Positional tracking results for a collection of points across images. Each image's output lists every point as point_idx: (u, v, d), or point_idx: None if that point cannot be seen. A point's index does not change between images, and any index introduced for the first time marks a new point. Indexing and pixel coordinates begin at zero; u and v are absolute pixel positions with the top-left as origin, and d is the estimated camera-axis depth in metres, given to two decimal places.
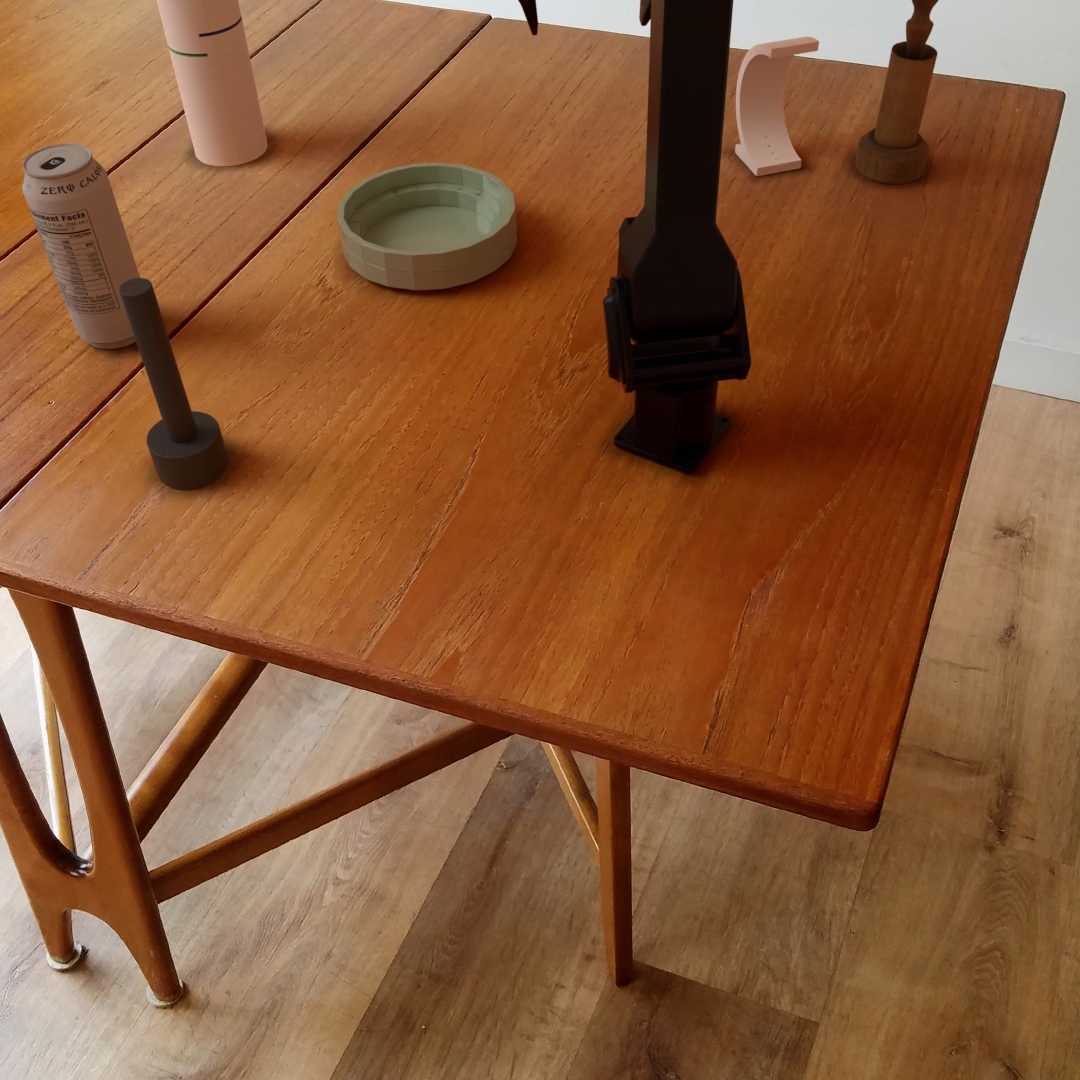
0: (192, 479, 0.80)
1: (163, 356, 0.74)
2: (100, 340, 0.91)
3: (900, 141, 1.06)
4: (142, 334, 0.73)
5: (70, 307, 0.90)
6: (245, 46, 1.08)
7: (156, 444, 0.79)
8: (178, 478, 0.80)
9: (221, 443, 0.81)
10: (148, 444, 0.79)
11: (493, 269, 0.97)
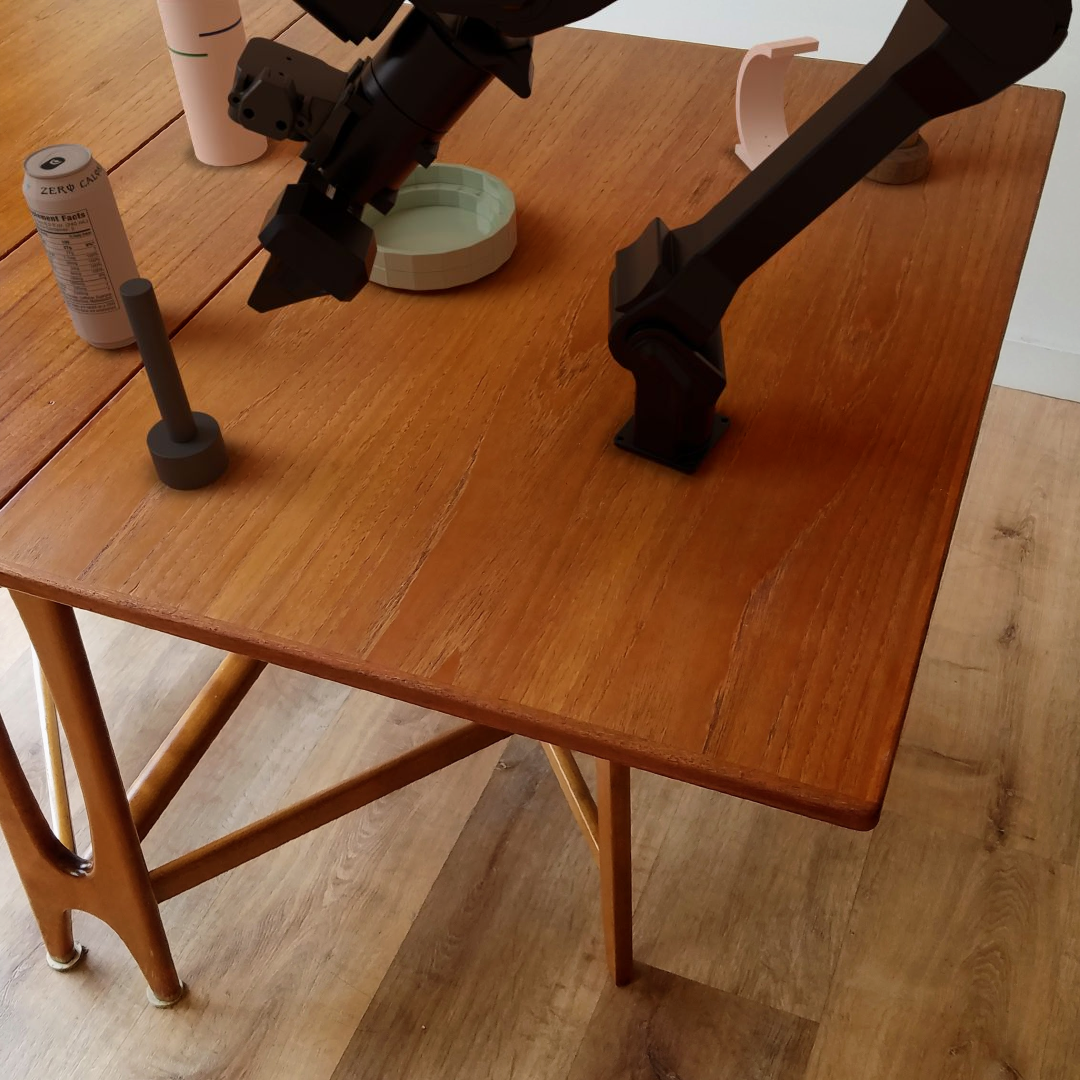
0: (192, 479, 0.80)
1: (163, 356, 0.74)
2: (100, 340, 0.91)
3: None
4: (142, 334, 0.73)
5: (70, 307, 0.90)
6: (245, 46, 1.08)
7: (156, 444, 0.79)
8: (178, 478, 0.80)
9: (221, 443, 0.81)
10: (148, 444, 0.79)
11: (493, 269, 0.97)
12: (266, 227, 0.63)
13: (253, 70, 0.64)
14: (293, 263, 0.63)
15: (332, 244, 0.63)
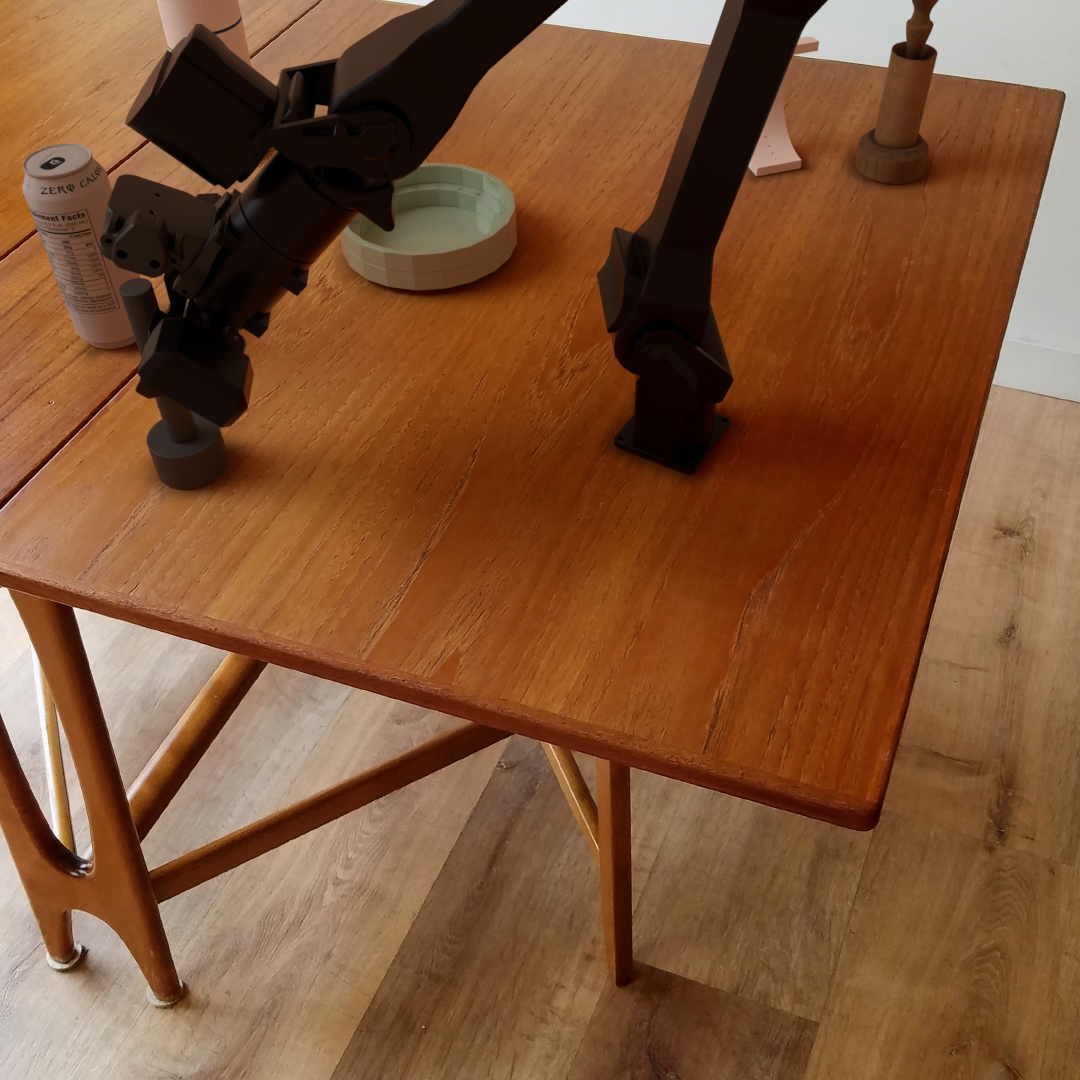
0: (192, 479, 0.80)
1: None
2: (100, 340, 0.91)
3: (900, 141, 1.06)
4: (142, 334, 0.73)
5: (70, 307, 0.90)
6: (245, 46, 1.08)
7: (156, 444, 0.79)
8: (178, 478, 0.80)
9: (221, 443, 0.81)
10: (148, 444, 0.79)
11: (493, 269, 0.97)
12: (145, 364, 0.65)
13: (124, 211, 0.66)
14: (173, 395, 0.66)
15: (211, 377, 0.66)
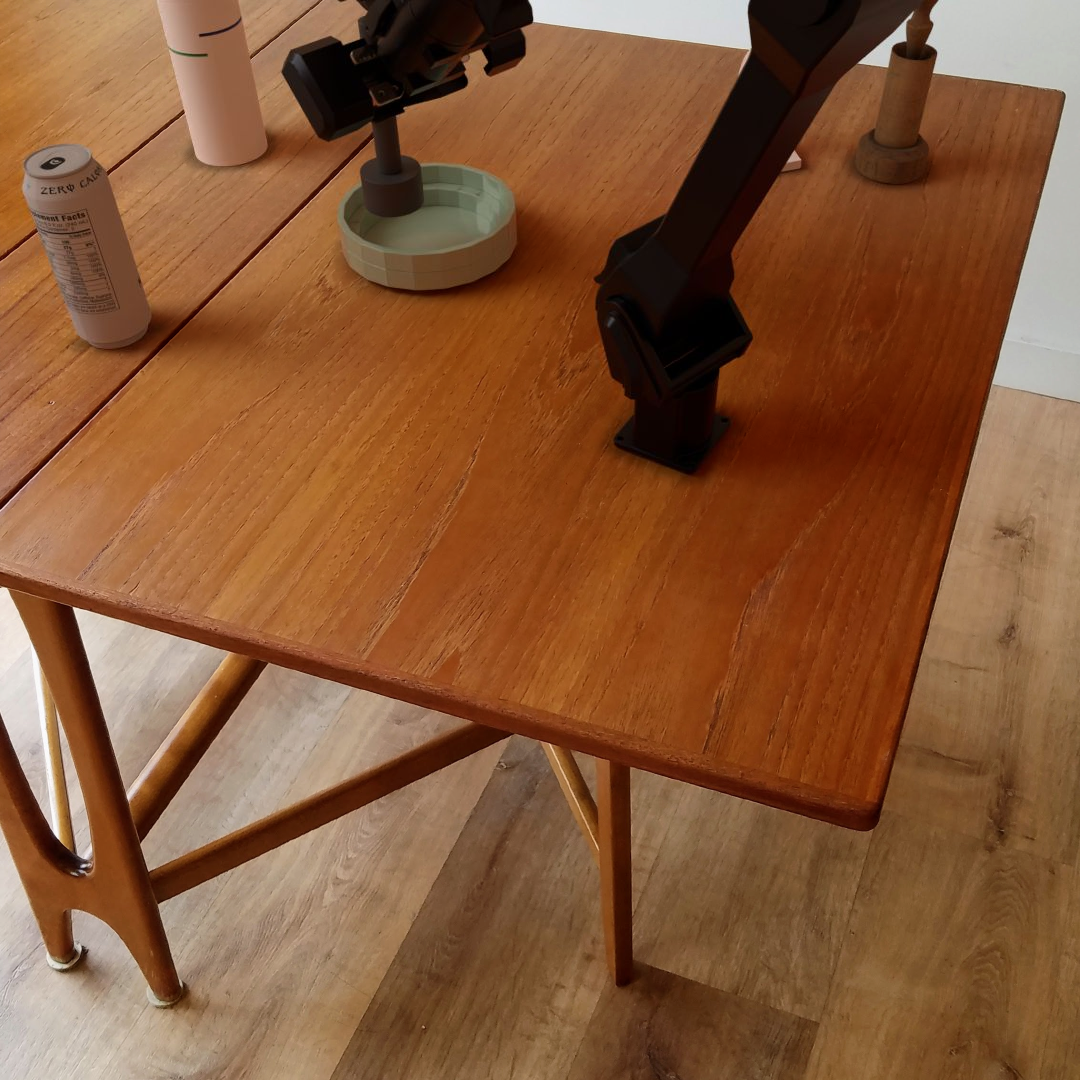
0: (373, 205, 0.95)
1: None
2: (100, 340, 0.91)
3: (900, 141, 1.06)
4: None
5: (70, 307, 0.90)
6: (245, 46, 1.08)
7: (368, 165, 0.95)
8: (366, 198, 0.95)
9: (407, 190, 0.94)
10: (365, 163, 0.95)
11: (493, 269, 0.97)
12: None
13: None
14: (294, 92, 0.81)
15: (315, 88, 0.79)
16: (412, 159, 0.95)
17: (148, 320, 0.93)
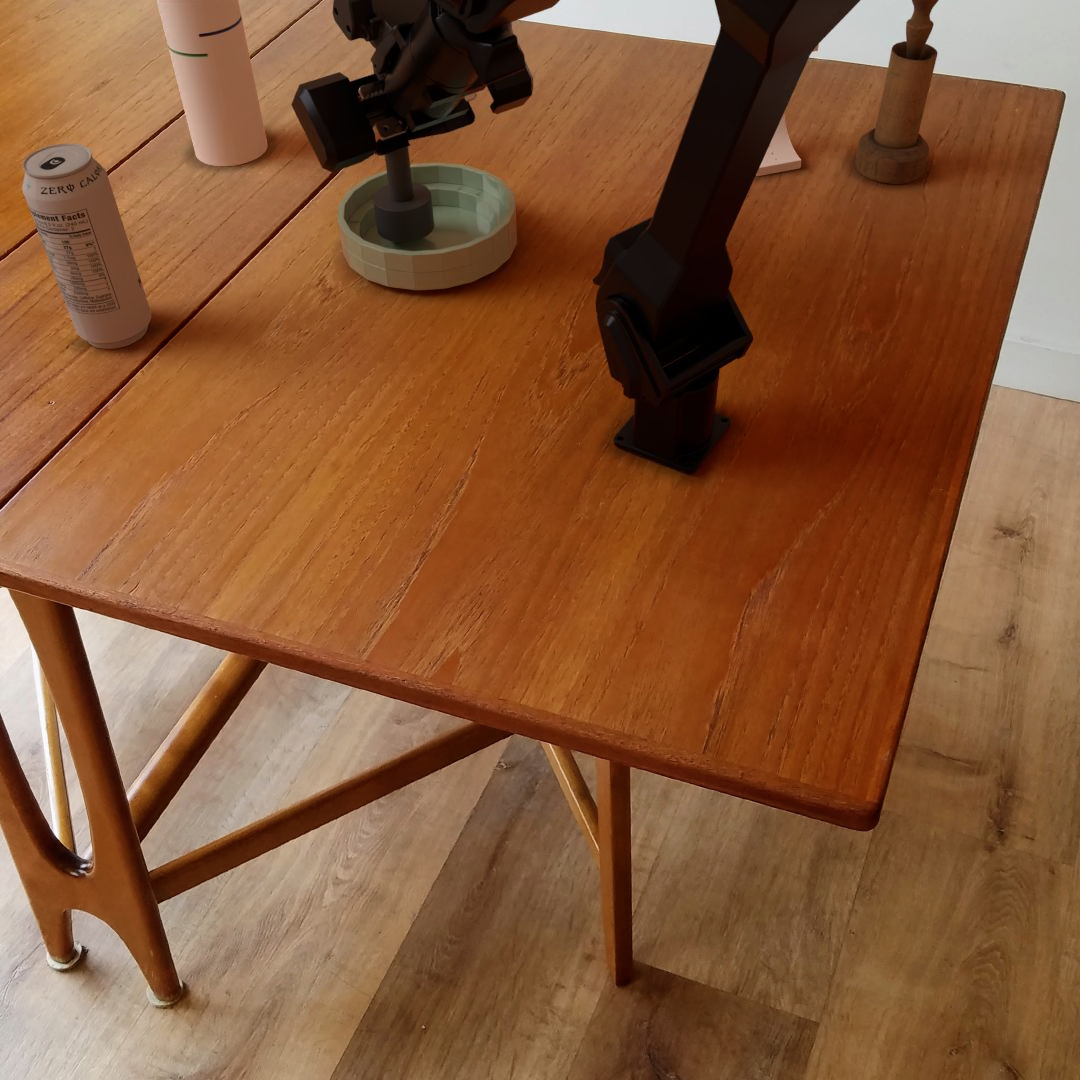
0: (383, 229, 0.99)
1: None
2: (100, 340, 0.91)
3: (900, 141, 1.06)
4: None
5: (70, 307, 0.90)
6: (245, 46, 1.08)
7: (382, 191, 0.99)
8: (377, 223, 0.99)
9: (416, 218, 0.98)
10: (379, 189, 0.99)
11: (493, 269, 0.97)
12: (296, 91, 0.85)
13: None
14: (302, 124, 0.85)
15: (319, 122, 0.83)
16: (424, 187, 0.99)
17: (148, 320, 0.93)
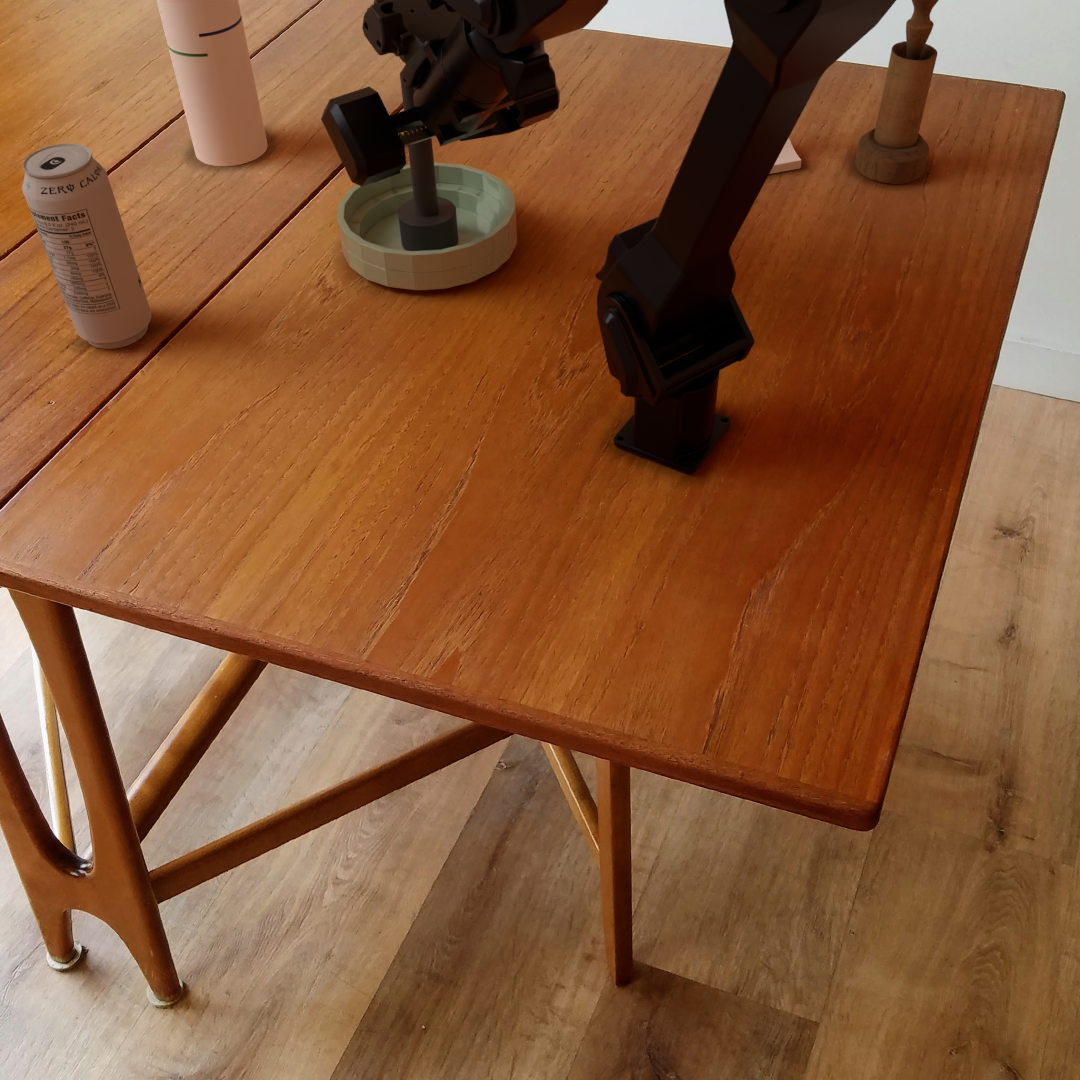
0: (408, 244, 0.99)
1: None
2: (100, 340, 0.91)
3: (900, 141, 1.06)
4: None
5: (70, 307, 0.90)
6: (245, 46, 1.08)
7: (407, 206, 1.00)
8: (402, 237, 1.00)
9: (441, 232, 0.98)
10: (404, 203, 1.00)
11: (493, 269, 0.97)
12: None
13: None
14: (332, 138, 0.86)
15: (350, 137, 0.84)
16: (449, 202, 1.00)
17: (148, 320, 0.93)
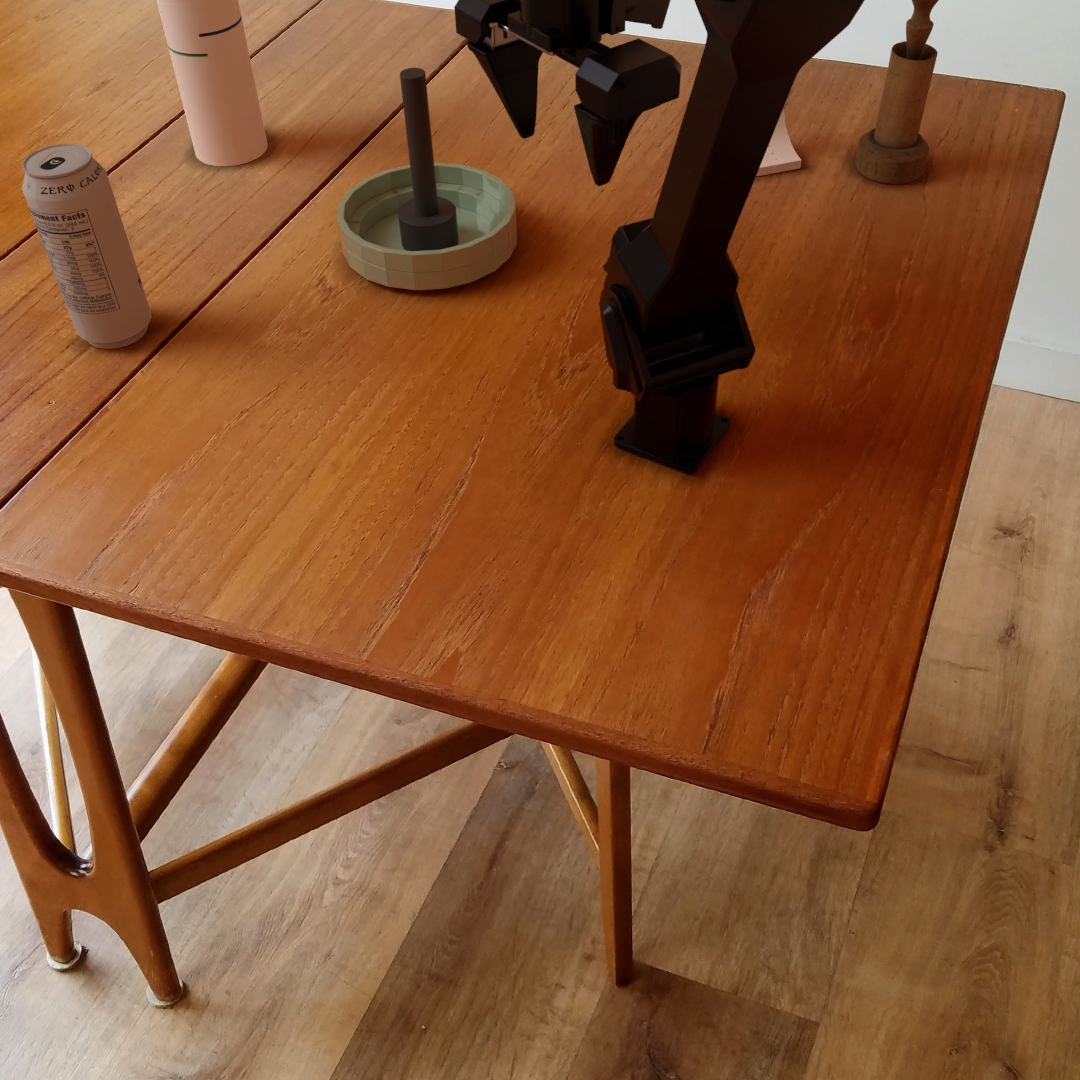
0: (408, 244, 0.99)
1: (414, 137, 0.93)
2: (100, 340, 0.91)
3: (900, 141, 1.06)
4: (404, 111, 0.92)
5: (70, 307, 0.90)
6: (245, 46, 1.08)
7: (407, 206, 1.00)
8: (402, 237, 1.00)
9: (441, 232, 0.98)
10: (404, 203, 1.00)
11: (493, 269, 0.97)
12: None
13: None
14: None
15: None
16: (449, 202, 1.00)
17: (148, 320, 0.93)
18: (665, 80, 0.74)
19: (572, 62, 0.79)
